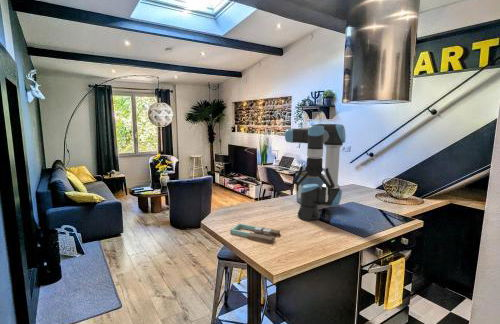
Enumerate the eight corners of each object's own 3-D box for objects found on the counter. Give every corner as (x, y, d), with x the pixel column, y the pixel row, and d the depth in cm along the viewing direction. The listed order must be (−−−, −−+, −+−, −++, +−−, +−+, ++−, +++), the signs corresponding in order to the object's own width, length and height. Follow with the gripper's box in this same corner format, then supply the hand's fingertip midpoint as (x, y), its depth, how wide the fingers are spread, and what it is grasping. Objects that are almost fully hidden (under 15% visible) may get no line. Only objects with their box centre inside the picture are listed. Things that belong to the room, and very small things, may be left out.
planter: (305, 207, 209) (306, 178, 206) (290, 199, 230) (291, 172, 226) (329, 204, 218) (330, 176, 214) (312, 197, 239) (313, 171, 235)
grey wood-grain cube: (265, 234, 156) (265, 228, 155) (271, 235, 154) (272, 229, 154) (262, 237, 152) (262, 230, 152) (269, 238, 151) (269, 231, 150)
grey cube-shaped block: (256, 232, 158) (256, 226, 158) (263, 234, 157) (263, 227, 156) (253, 235, 155) (253, 228, 154) (260, 236, 153) (260, 230, 153)
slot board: (257, 231, 164) (257, 226, 163) (279, 235, 158) (279, 230, 157) (247, 239, 151) (247, 234, 151) (271, 245, 145) (271, 239, 145)
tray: (239, 228, 167) (239, 223, 167) (256, 231, 162) (256, 226, 162) (230, 234, 158) (230, 229, 157) (248, 238, 152) (248, 233, 152)
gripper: (287, 156, 134) (286, 198, 137) (340, 160, 123) (337, 204, 127) (292, 155, 140) (290, 194, 144) (342, 158, 130) (339, 200, 133)
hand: (312, 199), depth 135 cm, fingers open, 13 cm apart
